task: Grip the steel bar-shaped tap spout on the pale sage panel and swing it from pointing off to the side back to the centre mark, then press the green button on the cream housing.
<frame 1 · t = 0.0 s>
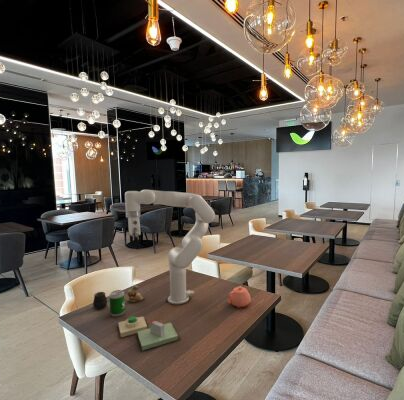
hand: (134, 245, 144), 37 cm above the table, tool pointing down, fingers open, 9 cm apart
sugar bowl: (238, 304, 153), on the table
mate gourd: (100, 307, 151), on the table
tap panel: (157, 337, 123), on the table
button box: (132, 328, 130), on the table
chocolate bunny: (135, 300, 158), on the table
soda can: (117, 314, 144), on the table
tap: (157, 328, 122), point 5 cm above the table, hinge at -60.0°
button: (132, 319, 130), point 4 cm above the table, slide at 0.1 cm
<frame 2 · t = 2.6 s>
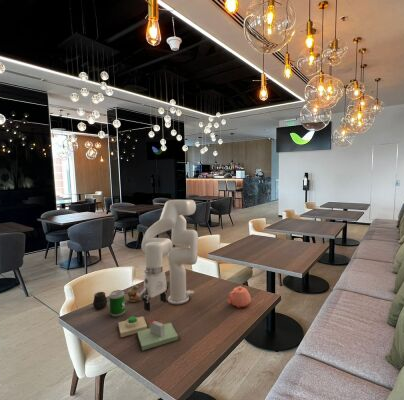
hand: (155, 305, 121), 15 cm above the table, tool pointing down, fingers open, 9 cm apart
nothing on the table moved.
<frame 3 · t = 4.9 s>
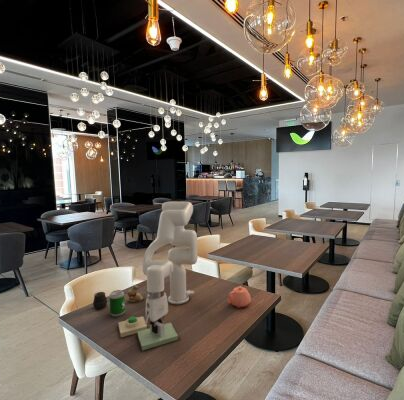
hand: (157, 330, 122), 3 cm above the table, tool pointing down, fingers closed on tap, 2 cm apart
tap: (157, 328, 122), point 5 cm above the table, hinge at -60.0°, touching gripper
everything else where it was.
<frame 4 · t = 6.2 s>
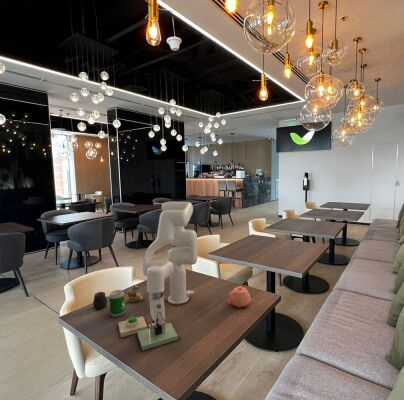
hand: (157, 331, 122), 3 cm above the table, tool pointing down, fingers open, 4 cm apart
tap: (157, 328, 122), point 5 cm above the table, hinge at 0.1°
everything else where it was.
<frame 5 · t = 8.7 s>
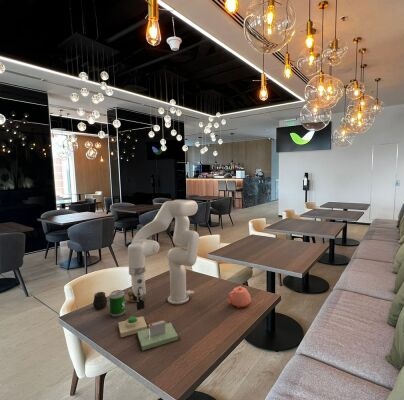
hand: (138, 304, 126), 13 cm above the table, tool pointing down, fingers open, 9 cm apart
nothing on the table moved.
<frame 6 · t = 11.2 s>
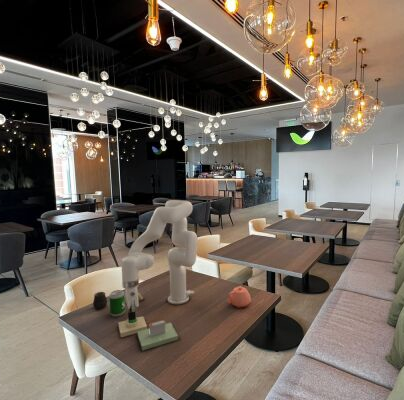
hand: (131, 318, 129), 5 cm above the table, tool pointing down, fingers closed
button: (132, 320, 130), point 4 cm above the table, slide at -0.2 cm, touching gripper
everything else where it was.
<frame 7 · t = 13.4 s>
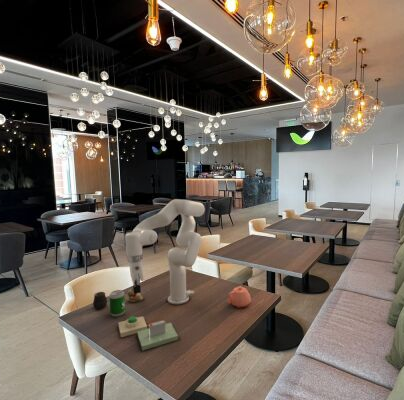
hand: (137, 292, 133), 16 cm above the table, tool pointing down, fingers closed
button: (132, 319, 130), point 4 cm above the table, slide at 0.1 cm
everything else where it was.
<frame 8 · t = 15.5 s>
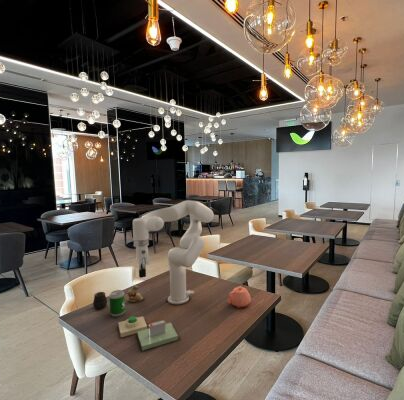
hand: (142, 276, 138), 22 cm above the table, tool pointing down, fingers closed
nothing on the table moved.
at the end: tap at +0° (first picture: -60°); button pushed in 1.1 cm at the most during the clip, back to where it started at the end; button slide at 0.1 cm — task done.
